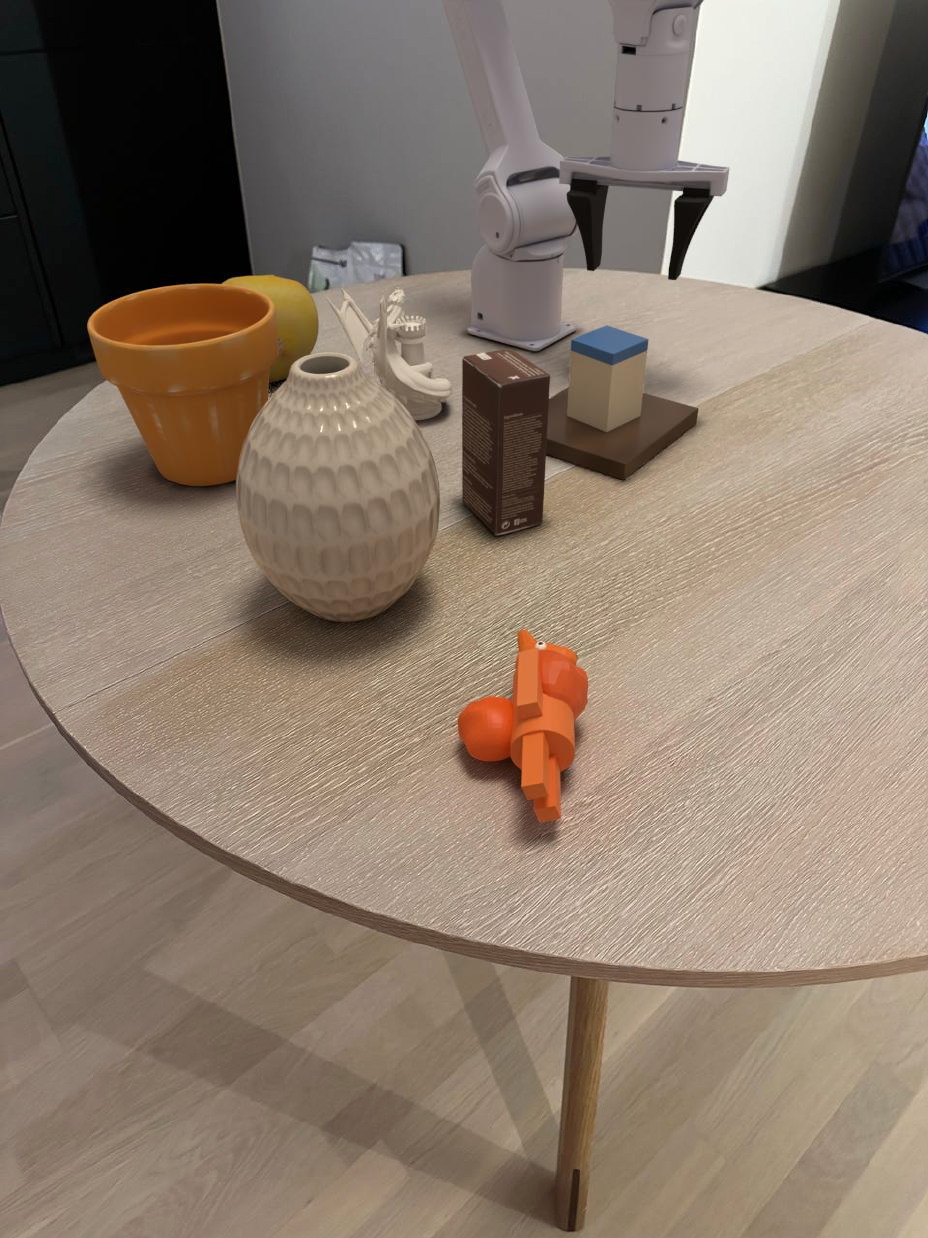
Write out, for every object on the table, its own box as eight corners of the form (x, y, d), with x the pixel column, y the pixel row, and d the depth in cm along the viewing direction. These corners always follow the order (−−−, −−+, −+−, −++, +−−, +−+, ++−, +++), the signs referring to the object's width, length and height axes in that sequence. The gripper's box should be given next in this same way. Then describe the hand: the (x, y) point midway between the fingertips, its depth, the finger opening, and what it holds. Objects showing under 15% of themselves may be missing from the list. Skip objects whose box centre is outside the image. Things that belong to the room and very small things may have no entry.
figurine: (458, 395, 90) (455, 268, 82) (445, 431, 84) (440, 298, 76) (350, 390, 91) (337, 265, 84) (329, 425, 85) (313, 293, 78)
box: (547, 523, 71) (553, 373, 64) (494, 538, 69) (495, 386, 62) (509, 488, 75) (511, 344, 68) (459, 501, 74) (456, 355, 66)
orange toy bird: (580, 758, 44) (574, 605, 53) (432, 786, 46) (452, 634, 55) (607, 826, 46) (597, 669, 56) (467, 850, 48) (480, 695, 58)
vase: (369, 679, 57) (343, 431, 47) (217, 614, 63) (163, 379, 52) (478, 576, 66) (476, 347, 55) (335, 527, 71) (309, 310, 61)
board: (505, 440, 82) (505, 425, 81) (584, 390, 90) (584, 376, 89) (623, 480, 76) (625, 464, 75) (696, 423, 84) (699, 407, 83)
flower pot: (207, 413, 87) (178, 272, 80) (328, 446, 82) (310, 298, 74) (91, 478, 78) (45, 326, 70) (219, 520, 72) (185, 360, 64)
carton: (566, 415, 82) (571, 339, 78) (600, 400, 85) (606, 324, 80) (606, 432, 80) (613, 353, 75) (640, 416, 82) (648, 338, 78)
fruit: (341, 377, 94) (331, 276, 87) (242, 404, 89) (224, 299, 83) (296, 346, 100) (284, 250, 94) (202, 370, 96) (182, 271, 90)
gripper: (745, 102, 78) (721, 267, 86) (580, 94, 83) (572, 252, 91) (728, 116, 73) (704, 291, 81) (553, 107, 78) (548, 273, 86)
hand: (633, 272), depth 86 cm, fingers open, 7 cm apart
